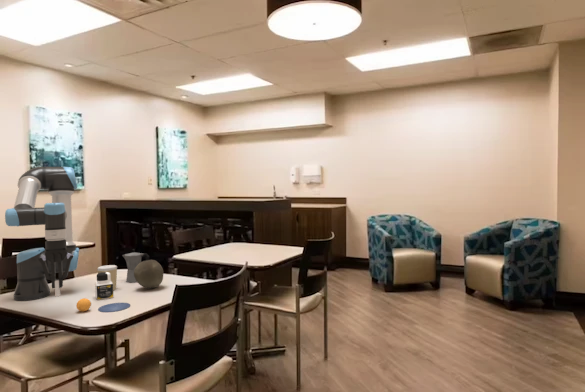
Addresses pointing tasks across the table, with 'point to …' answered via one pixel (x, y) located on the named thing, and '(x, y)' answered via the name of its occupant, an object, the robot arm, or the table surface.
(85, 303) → the ball
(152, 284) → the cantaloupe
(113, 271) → the coffee cup
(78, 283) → the table surface
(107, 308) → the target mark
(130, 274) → the coffeepot
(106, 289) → the medicine bottle
